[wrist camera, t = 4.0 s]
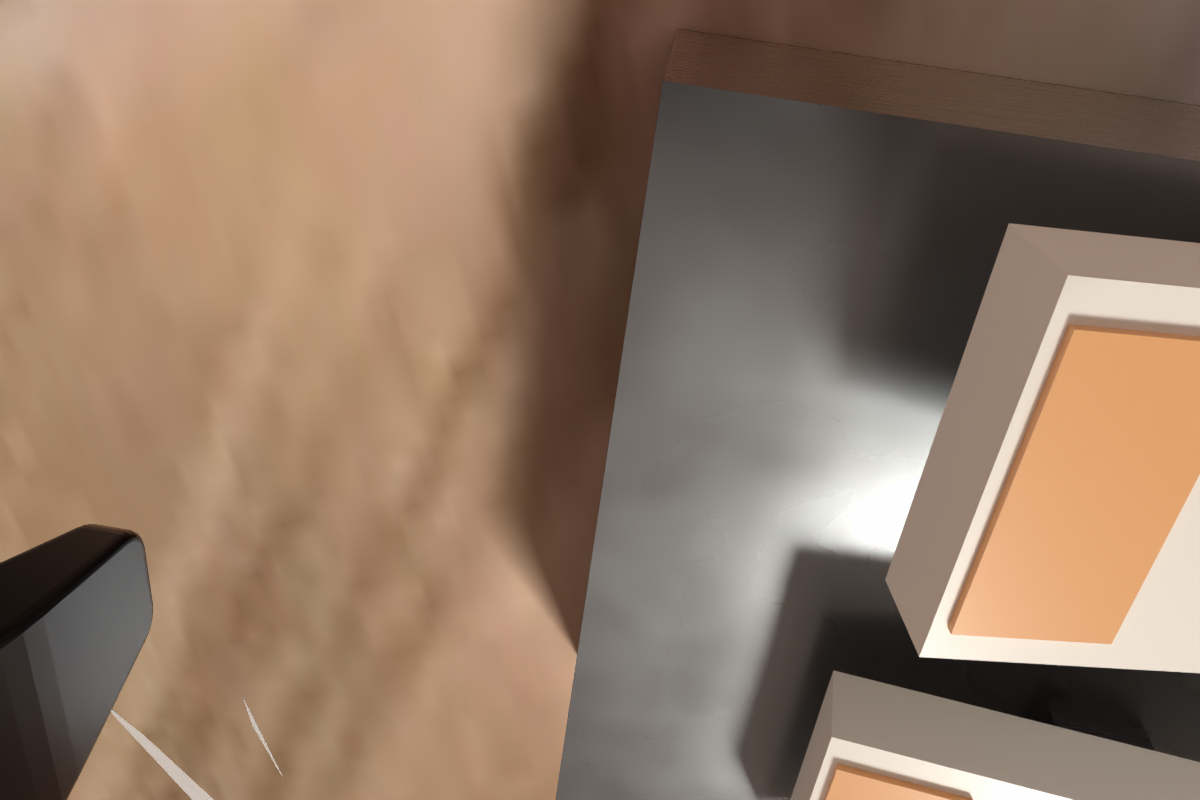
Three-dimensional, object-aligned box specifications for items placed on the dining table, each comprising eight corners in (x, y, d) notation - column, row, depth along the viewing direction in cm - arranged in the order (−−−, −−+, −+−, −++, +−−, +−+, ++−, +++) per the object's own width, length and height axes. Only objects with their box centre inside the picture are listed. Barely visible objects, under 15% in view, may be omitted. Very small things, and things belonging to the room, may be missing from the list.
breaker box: (1838, 200, 15) (2275, 339, 11) (1370, 797, 22) (1523, 1025, 18) (676, 28, 16) (659, 96, 11) (580, 661, 23) (547, 849, 18)
